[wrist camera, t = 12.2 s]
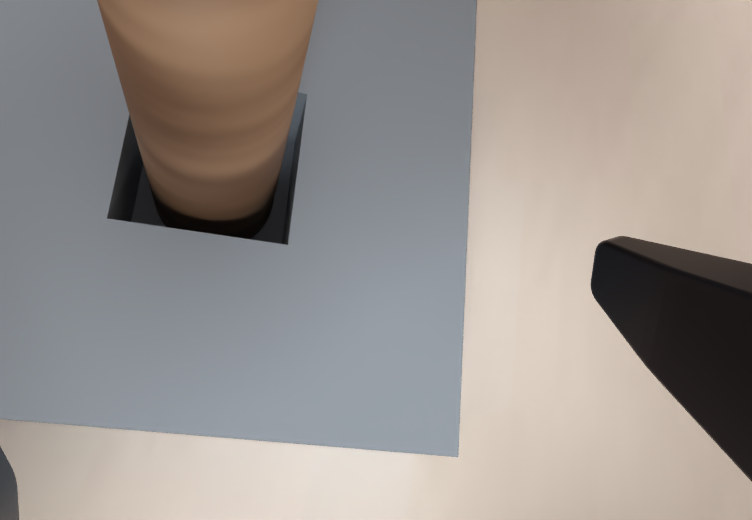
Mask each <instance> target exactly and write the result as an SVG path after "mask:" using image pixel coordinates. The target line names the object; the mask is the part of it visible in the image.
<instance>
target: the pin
mask: <svg viewBox="0 0 752 520" xmlns="http://www.w3.org/2000/svg"><path fill="white" fill-rule="evenodd" d="M97 2H98V5H99V9H100V13H101V16H102V20H103V23H104V27H105V30H106V34H107V37H108V41H109V44H110V48H111V51H112V55H113V58H114V62H115V65H116V69H117V72H118V76H119V79H120V83H121V86H122V90H123V93H124V97H125V100H126V104H127V107H128V111H129V114H130V118H131V121H132V125H133V128H134V132H135V136H136V139H137V143H138V146H139V150H140V153H141V157H142V160H143V164H144V167H145V171H146V174H147V178H148V181H149V185H150V188H151V192H152V195H153V199H154V202H155V206H156V209H157V212H158V214H159V217H160V218H161V220H162V222H163V223H164V225H165V226H166V227H169V228H176V229H182V230H189V231H196V232H203V233H210V234H217V235H223V236H230V237H237V238H244V239H251V238H252V237H254V236H255V235H256V234H257V233H258V232H259V231H260V230H261V229H262V228H263V226H264V225H265V223H266V222H267V220H268V218H269V216H270V213H271V210H272V206H273V201H274V197H275V192H276V188H277V184H278V179H279V175H280V170H281V166H282V161H283V157H284V152H285V148H286V143H287V139H288V134H289V130H290V125H291V121H292V117H293V112H294V108H295V103H296V99H297V94H298V90H299V85H300V81H301V76H302V72H303V67H304V63H305V58H306V54H307V50H308V45H309V41H310V36H311V32H312V27H313V23H314V18H315V14H316V9H317V5H318V0H97Z"/></svg>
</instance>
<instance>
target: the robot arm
mask: <svg viewBox="0 0 752 520" xmlns="http://www.w3.org/2000/svg"><path fill="white" fill-rule="evenodd" d="M591 290H592V294H593V296H594V298H595V299H596V301H597V302H598V303H599V305H600V306H601V307H602V309H603V310H604V311H605V313H606V314H607V315H608V317H609V318H610V319H611V321H612V322H613V323H614V325H615V326H616V327H617V329H618V330H619V331H620V333H621V334H622V335H623V337H624V338H625V339H626V341H627V342H628V343H629V345H630V346H631V347H632V349H633V350H634V351H635V352H636V354H637V355H638V356H639V358H640V359H641V360H642V361H643V363H644V364H645V365H646V367H647V368H648V369H649V370H650V371H651V372H652V373H653V375H654V376H655V377H656V378H657V379H658V380H659V381H660V382H661V384H662V385H663V386H664V387H665V388H666V389H667V390H668V391H669V392H670V393H671V394H672V395H673V397H674V398H675V399H676V400H677V401H678V402H679V403H680V404H681V405H682V406H683V407H684V408H685V410H686V411H687V412H688V413H689V414H690V415H691V416H692V417H693V418H694V419H695V420H696V422H697V423H698V424H699V425H700V426H701V427H702V428H703V429H704V430H705V431H706V432H707V433H708V435H709V436H710V437H711V438H712V439H713V440H714V441H715V442H716V443H717V444H718V445H719V447H720V448H721V449H722V450H723V451H724V452H725V453H726V454H727V455H728V456H729V457H730V458H731V460H732V461H733V462H734V463H735V464H736V465H737V466H738V467H739V468H740V469H741V470H742V472H743V473H744V474H745V475H746V476H747V477H748V478H749V479H750V480H751V481H752V264H750V263H745V262H741V261H736V260H732V259H727V258H723V257H718V256H713V255H709V254H704V253H700V252H695V251H690V250H686V249H681V248H677V247H672V246H667V245H663V244H658V243H654V242H649V241H644V240H640V239H635V238H631V237H626V236H619V237H615V238H612V239H608V240H605V241H602V242H601V243H599V244H598V246H597V248H596V251H595V257H594V264H593V271H592V278H591ZM0 520H19V508H18V491H17V483H16V478H15V474H14V472H13V469H12V467H11V465H10V463H9V462H8V460H7V458H6V456H5V454H4V452H3V451H2V449H1V447H0Z"/></svg>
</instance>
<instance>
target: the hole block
mask: <svg viewBox="0 0 752 520" xmlns="http://www.w3.org/2000/svg"><path fill="white" fill-rule="evenodd" d="M476 9H477V0H318V5H317V9H316V14H315V18H314V23H313V27H312V32H311V36H310V41H309V45H308V50H307V54H306V58H305V63H304V67H303V72H302V76H301V81H300V85H299V90H298V94H297V99H296V103H295V108H294V112H293V117H292V121H291V125H290V130H289V134H288V139H287V143H286V148H285V152H284V157H283V161H282V166H281V170H280V175H279V179H278V184H277V188H276V192H275V197H274V201H273V206H272V210H271V213H270V216H269V218H268V220H267V222H266V223H265V225H264V226H263V228H262V229H261V230H260V231H259V232H258V233H257V234H256V235H255V236H254V237H252V238H251V239H244V238H237V237H230V236H223V235H217V234H210V233H203V232H196V231H189V230H182V229H176V228H169V227H166V226H165V225H164V223H163V222H162V220H161V218H160V217H159V214H158V212H157V209H156V206H155V202H154V199H153V195H152V192H151V188H150V185H149V181H148V178H147V174H146V171H145V167H144V164H143V160H142V157H141V153H140V150H139V146H138V143H137V139H136V136H135V132H134V128H133V125H132V121H131V118H130V114H129V111H128V107H127V104H126V100H125V97H124V93H123V90H122V86H121V83H120V79H119V76H118V72H117V69H116V65H115V62H114V58H113V55H112V51H111V48H110V44H109V41H108V37H107V34H106V30H105V27H104V23H103V20H102V16H101V13H100V9H99V5H98V2H97V0H0V419H7V420H19V421H31V422H43V423H55V424H67V425H79V426H91V427H103V428H115V429H127V430H139V431H151V432H163V433H175V434H187V435H199V436H211V437H223V438H235V439H247V440H259V441H271V442H283V443H295V444H307V445H319V446H331V447H343V448H355V449H367V450H379V451H391V452H403V453H415V454H427V455H439V456H451V457H458V449H459V424H460V400H461V376H462V351H463V327H464V302H465V278H466V253H467V229H468V205H469V180H470V156H471V131H472V107H473V82H474V58H475V33H476Z"/></svg>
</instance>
